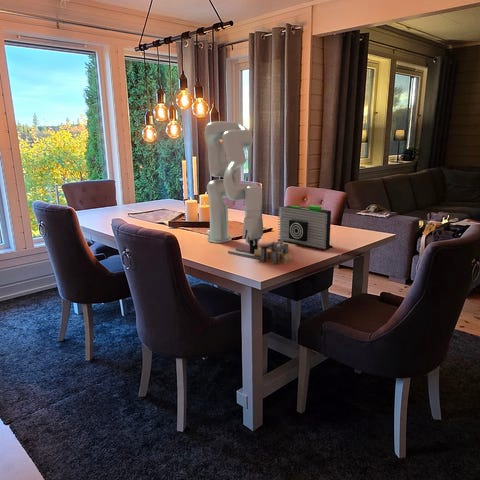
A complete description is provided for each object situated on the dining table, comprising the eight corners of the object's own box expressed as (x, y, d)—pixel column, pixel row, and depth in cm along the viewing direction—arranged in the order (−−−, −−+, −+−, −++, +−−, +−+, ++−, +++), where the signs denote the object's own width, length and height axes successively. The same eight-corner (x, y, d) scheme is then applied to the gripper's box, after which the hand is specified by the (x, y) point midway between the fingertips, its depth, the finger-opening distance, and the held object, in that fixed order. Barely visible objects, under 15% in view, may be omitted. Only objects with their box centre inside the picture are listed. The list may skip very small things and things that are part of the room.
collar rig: (261, 261, 175) (261, 244, 173) (275, 255, 184) (275, 238, 182) (275, 264, 171) (275, 246, 169) (289, 258, 179) (289, 241, 178)
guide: (227, 253, 189) (227, 251, 188) (236, 250, 194) (236, 248, 193) (261, 260, 177) (261, 258, 177) (269, 256, 182) (269, 254, 182)
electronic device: (274, 242, 208) (274, 203, 203) (287, 238, 215) (288, 201, 210) (320, 252, 188) (322, 210, 183) (333, 247, 196) (335, 207, 191)
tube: (254, 257, 181) (254, 248, 180) (259, 255, 185) (259, 246, 184) (284, 264, 172) (285, 254, 171) (290, 261, 175) (290, 252, 174)
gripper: (256, 210, 187) (256, 248, 191) (236, 215, 175) (237, 255, 180) (269, 211, 182) (269, 250, 187) (250, 217, 171) (250, 258, 176)
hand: (253, 253), depth 183 cm, fingers closed
